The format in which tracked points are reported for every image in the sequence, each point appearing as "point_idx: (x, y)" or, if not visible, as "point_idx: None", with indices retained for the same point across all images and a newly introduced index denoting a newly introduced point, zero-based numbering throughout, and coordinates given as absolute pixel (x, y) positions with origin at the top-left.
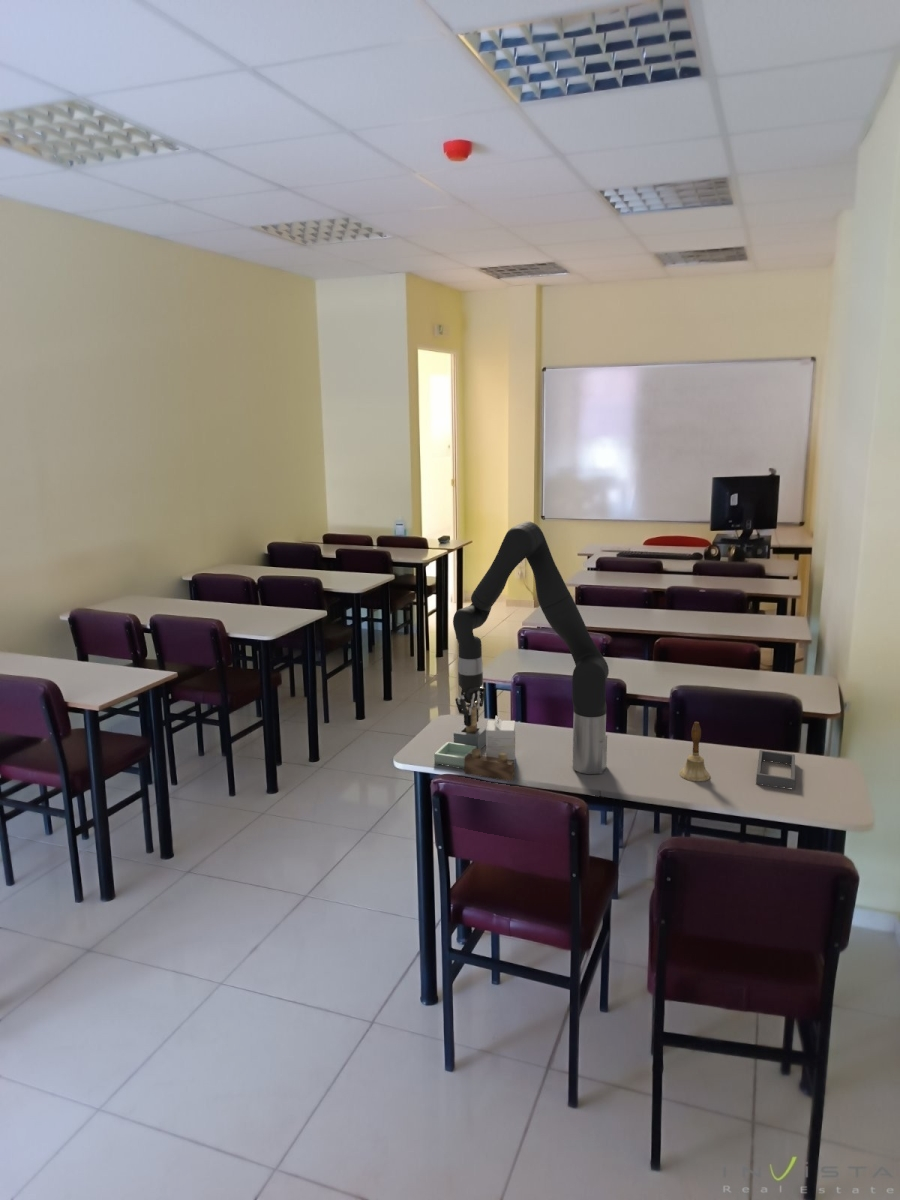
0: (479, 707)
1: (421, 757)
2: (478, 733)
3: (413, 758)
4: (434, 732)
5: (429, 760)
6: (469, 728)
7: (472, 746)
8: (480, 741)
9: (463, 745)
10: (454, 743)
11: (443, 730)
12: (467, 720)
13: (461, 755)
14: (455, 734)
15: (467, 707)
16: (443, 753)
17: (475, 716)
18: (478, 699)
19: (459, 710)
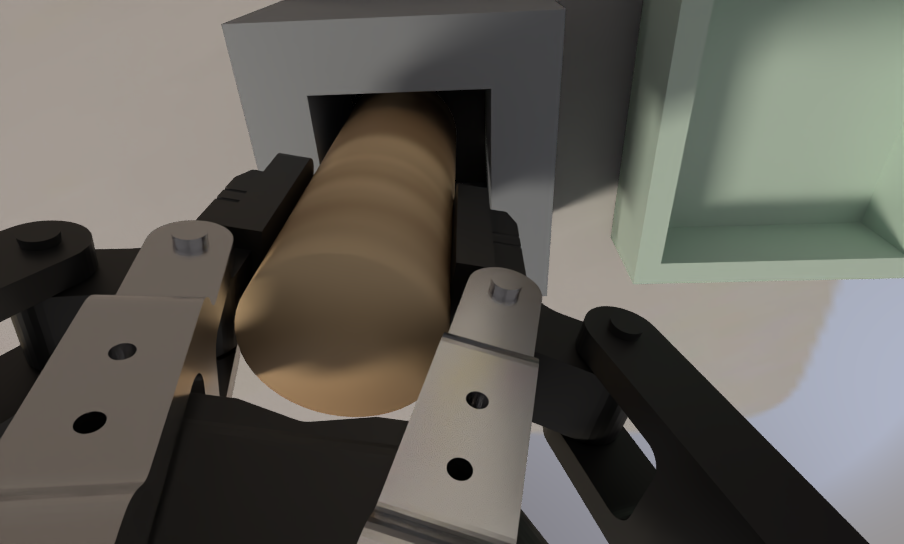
0: (156, 242)
1: (744, 343)
2: (461, 47)
3: (766, 375)
4: (331, 418)
5: (790, 284)
6: (454, 187)
7: (706, 5)
8: (467, 2)
9: (688, 116)
10: (658, 215)
11: (271, 389)
12: (520, 251)
13: (722, 89)
14: (546, 272)
15: (323, 407)
16: (757, 234)
17: (381, 192)
18: (128, 380)
19: (649, 462)
